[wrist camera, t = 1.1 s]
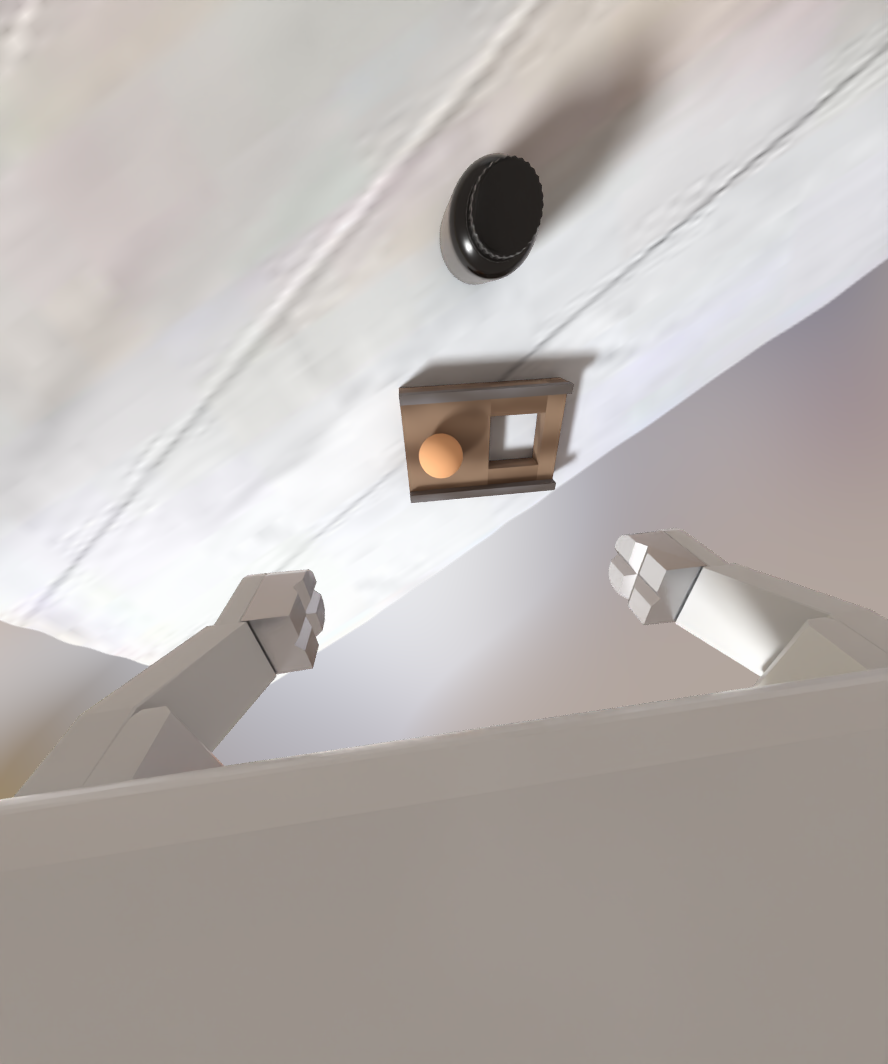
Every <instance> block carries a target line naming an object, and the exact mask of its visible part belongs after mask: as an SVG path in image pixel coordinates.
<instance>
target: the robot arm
mask: <svg viewBox="0 0 888 1064" xmlns="http://www.w3.org/2000/svg"><path fill="white" fill-rule="evenodd" d="M615 549H616V551H617V553H618V554H617V555H616V556H615V557H614V559H612V560H611V562H610V566H609V578H610V582H611V584H612V586H613V588H614V589H615V590H616V592H617V593H618V594H619V595H621V596H623V597H625V598H627V599H628V607H629V608H630V609H631V610H632V612H633V613H634V614H635V615H636V617H637V618H638V619H639V620H640V622H641V623H642V624H643V625H649V624H659V623H668V622H676V624H677V625H679V626H680V627H682V628H683V629H685V630H687V631H688V632H690V633H691V634H693V635H695V636H696V637H698V638H700V639H701V640H703V641H704V642H706V643H708V644H709V645H711V646H712V647H714V648H716V649H717V650H719V651H721V652H722V653H724V654H725V655H727V656H729V657H730V658H732V659H733V660H735V661H737V662H738V663H740V664H741V665H743V666H745V667H747V668H748V669H750V670H751V671H753V672H754V673H756V674H758V675H759V676H761V677H760V678H759V680H758V681H757V682H756V683H755V685H754V686H753V687H751V688H745V689H737V690H731V691H724V692H717V693H711V694H705V695H697V696H690V697H684V698H677V699H670V700H664V701H657V702H650V703H644V704H638V705H631V706H623V707H617V708H610V709H603V710H597V711H590V712H583V713H577V714H570V715H563V716H556V717H550V718H543V719H537V720H530V721H523V722H517V723H510V724H503V725H497V726H490V727H484V728H477V729H470V730H463V731H458V732H450V733H443V734H437V735H430V736H423V737H417V738H410V739H403V740H396V741H390V742H383V743H377V744H370V745H363V746H356V747H350V748H343V749H336V750H330V751H323V752H316V753H310V754H302V755H296V756H290V757H282V758H276V759H269V760H263V761H255V762H249V763H242V764H235V765H229V766H224V765H223V764H222V763H221V762H220V761H219V760H218V759H217V758H216V757H215V756H214V755H213V754H212V752H213V750H214V749H215V748H216V747H217V746H218V744H219V743H220V742H221V741H222V740H223V738H224V737H225V736H226V735H227V734H228V733H229V732H230V730H231V729H232V728H233V727H234V725H235V724H236V723H237V722H238V721H239V720H240V719H241V717H242V716H243V715H244V714H245V713H246V712H247V710H248V709H249V708H250V707H251V706H252V704H253V703H254V702H255V701H256V700H257V699H258V697H259V696H260V695H261V694H262V693H263V691H264V690H265V689H266V688H267V687H268V686H269V684H270V683H271V682H272V681H273V680H274V679H275V677H276V674H281V673H287V672H293V671H300V670H306V669H312V668H313V666H314V662H315V658H316V654H317V650H318V646H319V644H318V642H317V639H316V636H317V635H318V634H319V633H320V632H321V631H322V630H323V625H324V620H325V609H324V603H323V599H322V596H321V594H320V593H318V592H317V591H315V590H314V588H315V585H316V579H315V577H314V574H313V572H312V571H311V570H309V569H307V570H296V571H285V572H274V573H268V574H267V573H264V574H255V575H248V576H246V577H244V578H243V579H242V580H241V582H240V584H239V585H238V587H237V588H236V590H235V592H234V593H233V595H232V597H231V598H230V600H229V602H228V603H227V605H226V606H225V608H224V610H223V611H222V613H221V615H220V616H219V618H218V619H217V621H216V623H215V624H214V625H213V626H207V627H205V628H204V629H202V630H201V631H199V632H198V633H197V634H195V635H194V636H192V637H191V638H189V639H188V640H187V641H185V642H184V643H182V644H181V645H179V646H178V647H177V648H175V649H174V650H172V651H171V652H169V653H168V654H167V655H165V656H164V657H162V658H161V659H159V660H158V661H157V662H155V663H154V664H152V665H151V666H149V667H148V668H147V669H145V670H144V671H142V672H141V673H140V674H138V675H137V676H135V677H134V678H132V679H131V680H129V681H128V682H127V683H125V684H124V685H123V686H121V687H120V688H118V689H117V690H115V691H114V692H112V693H111V694H110V695H109V696H107V697H105V698H104V699H102V700H101V701H100V702H98V703H97V704H95V705H94V706H93V707H91V708H90V709H88V710H87V711H85V712H84V713H82V714H81V715H80V716H79V717H78V718H77V719H76V720H75V722H74V723H73V724H72V726H71V727H70V728H69V729H68V730H67V732H66V733H65V734H64V735H63V737H62V738H61V739H60V740H59V741H58V743H57V744H56V745H55V746H54V748H53V749H52V750H51V751H50V753H49V754H48V755H47V756H46V757H45V759H44V760H43V761H42V762H41V764H40V765H39V766H38V768H37V769H36V770H35V771H34V772H33V773H32V775H31V776H30V777H29V778H28V780H27V781H26V782H25V783H24V785H23V786H22V787H21V788H20V790H19V791H18V792H17V793H16V794H15V796H14V797H13V798H7V799H0V1064H888V619H886V618H884V617H883V616H881V615H880V614H878V613H876V612H875V611H873V610H871V609H868V608H865V607H862V606H859V605H856V604H854V603H851V602H848V601H845V600H842V599H839V598H836V597H833V596H830V595H827V594H824V593H821V592H818V591H815V590H812V589H810V588H807V587H804V586H801V585H798V584H795V583H792V582H789V581H786V580H783V579H780V578H777V577H774V576H771V575H769V574H766V573H763V572H760V571H757V570H754V569H751V568H748V567H745V566H742V565H739V564H736V563H732V564H729V563H728V562H726V561H725V560H723V559H722V558H721V557H719V556H718V555H717V554H715V553H714V552H713V551H711V550H710V549H708V548H707V547H706V546H704V545H703V544H702V543H700V542H699V541H697V540H696V539H695V538H693V537H692V536H691V535H689V534H688V533H686V532H685V531H684V530H681V529H678V528H672V529H664V530H658V531H655V532H645V533H636V534H628V535H621V536H620V537H619V539H618V540H617V542H616V545H615Z"/></svg>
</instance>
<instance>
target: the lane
mask: <svg viewBox="0 0 888 1064" xmlns="http://www.w3.org/2000/svg"><path fill="white" fill-rule="evenodd" d="M572 390H573V383H571V382H568V381H566V380H564V379H562V378H546V379H531V380H515V381H500V382H485V383H470V384H455V385H440V386H425V387H410V388H399V400H400V407H401V416H402V425H403V434H404V443H405V452H406V460H407V469H408V478H409V487H410V498H411V503H416V502H427V501H438V500H449V499H460V498H471V497H482V496H493V495H504V494H515V493H526V492H537V491H547V490H555V485H556V483H555V481H554V480H553V479H552V478H553V472H554V466H555V460H556V455H557V449H558V443H559V437H560V431H561V425H562V419H563V414H564V408H565V402H566V396H567V394H572ZM532 413H537V421H536V429H535V437H534V445H533V453H532V458H520V459H508V460H496V461H489V440H490V417H491V416H505V415H518V414H532ZM439 433H443V434H448V435H450V436H452V437H454V438H455V439H456V440H457V441H458V443H459V444H460V446H461V448H462V452H463V460H462V464H461V466H460V468H459V469H458V471H457V472H456V473H455V474H453V475H452V476H450V477H447V478H435V477H432V476H430V475H429V474H427V473H426V472H425V471H424V469H423V468H422V466H421V464H420V461H419V451H420V448H421V445H422V444H423V442H424V441H425V440H426V439H427V438H428V437H430V436H432V435H434V434H439Z"/></svg>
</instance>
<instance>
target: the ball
mask: <svg viewBox="0 0 888 1064" xmlns="http://www.w3.org/2000/svg"><path fill="white" fill-rule="evenodd" d="M462 460H463V452H462V448H461V446H460V444H459V443H458V441H457V440H456V439H455V438H454V437H452V436H450V435H448V434H443V433H439V434H434V435H432V436H430V437H428V438H427V439H426V440H425V441H424V442H423V444H422V445H421V448H420V451H419V461H420V464H421V466H422V468H423V469H424V471H425V472H426V473H427V474H429V475H430V476H432V477H435V478H447V477H450V476H452V475H453V474H455V473H456V472H457V471H458V469H459V468H460V466H461V464H462Z"/></svg>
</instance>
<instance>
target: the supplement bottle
mask: <svg viewBox="0 0 888 1064" xmlns="http://www.w3.org/2000/svg"><path fill="white" fill-rule="evenodd" d="M542 208H543V193H542V185H541V183H540V182H539V176H538V175H537V174H536V173H535V170H534V168H532V167H531V166H530V164H529V162H525V161H524V160H523V158H517V157H516V156H510V155H507V154H502V153H494V154H489V155H486V156H483V157H481V158H479V159H478V160H476V161H475V162H474V163H473V164H471V165H470V166H469V167H468V168H467V170H466V171H465V172H464V173H463V175H462V176H461V178H460V179H459V181H458V183H457V185H456V187H455V189H454V191H453V194H452V196H451V198H450V201H449V203H448V205H447V208H446V210H445V212H444V215H443V218H442V222H441V227H440V249H441V253H442V257H443V260H444V262H445V264H446V266H447V268H448V269H449V271H450V272H451V273H452V274H453V275H454V276H455V277H456V278H457V279H458V280H460V281H462V282H464V283H467V284H472V285H476V284H483V283H487V282H490V281H494V280H498V279H501V278H504V277H506V276H508V275H509V274H511V273H512V272H514V271H515V270H516V269H517V268H518V267H519V266H520V265H521V264H522V263H523V262H524V261H525V259H526V258H527V256H528V255H529V253H530V251H531V249H532V247H533V245H534V242H535V239H536V236H537V233H538V228H539V225H540V219H541V217H542Z"/></svg>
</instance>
